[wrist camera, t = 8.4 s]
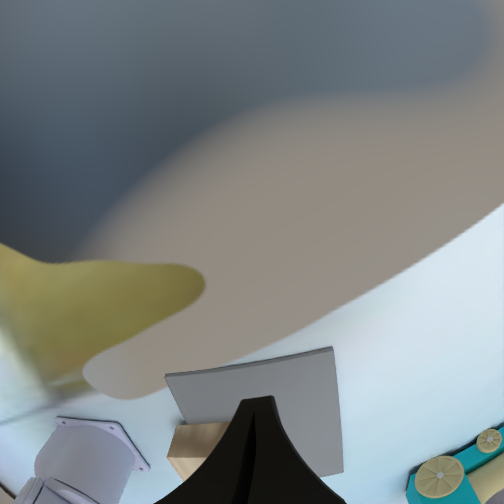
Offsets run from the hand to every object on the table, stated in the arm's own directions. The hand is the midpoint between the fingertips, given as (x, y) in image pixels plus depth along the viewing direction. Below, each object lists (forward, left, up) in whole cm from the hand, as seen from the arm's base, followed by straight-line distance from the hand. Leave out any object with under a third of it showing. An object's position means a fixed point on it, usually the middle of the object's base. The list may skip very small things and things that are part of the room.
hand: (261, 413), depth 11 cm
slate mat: (-2, -12, -9) cm, 15 cm away
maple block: (-2, -11, -7) cm, 13 cm away
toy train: (+21, -29, -10) cm, 37 cm away
